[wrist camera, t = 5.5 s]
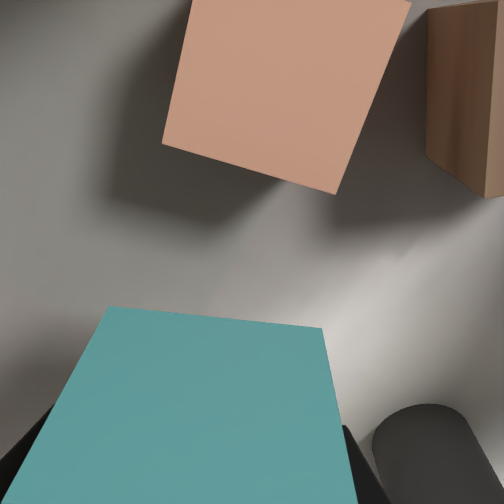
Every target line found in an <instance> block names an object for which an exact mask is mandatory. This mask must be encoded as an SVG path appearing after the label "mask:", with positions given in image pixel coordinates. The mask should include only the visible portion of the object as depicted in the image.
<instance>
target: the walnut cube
mask: <svg viewBox="0 0 504 504" xmlns="http://www.w3.org/2000/svg"><path fill="white" fill-rule="evenodd" d="M426 157H427V158H429V159H430V160H431V161H433V162H434V163H436V164H437V165H438V166H440V167H441V168H443V169H444V170H445V171H447V172H448V173H449V174H451V175H452V176H454V177H455V178H456V179H458V180H459V181H461V182H462V183H463V184H465V185H466V186H467V187H469V188H470V189H472V190H473V191H474V192H476V193H477V194H479V195H480V196H481V197H483V198H484V199H486V198H493V197H500V196H504V0H481V1H475V2H469V3H462V4H456V5H450V6H444V7H437V8H431V9H428V23H427V92H426Z"/></svg>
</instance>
